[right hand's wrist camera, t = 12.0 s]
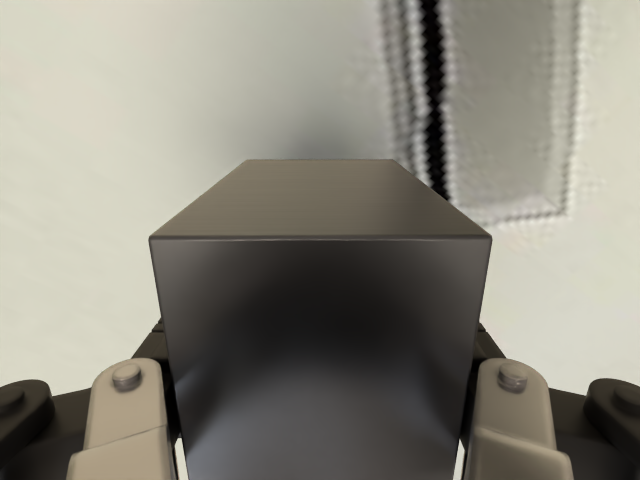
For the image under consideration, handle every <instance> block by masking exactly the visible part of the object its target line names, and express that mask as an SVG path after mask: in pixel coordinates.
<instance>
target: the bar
mask: <svg viewBox="0 0 640 480" xmlns="http://www.w3.org/2000/svg"><path fill="white" fill-rule="evenodd" d="M148 241H149V247H150V253H151V259H152V265H153V271H154V277H155V282H156V288H157V294H158V300H159V306H160V312H161V318H162V324H163V330H164V336H165V342H166V348H167V354H168V360H169V366H170V372H171V378H172V384H173V390H174V396H175V402H176V408H177V413H178V419H179V425H180V431H181V437H182V443H183V449H184V455H185V461H186V467H187V473H188V479H189V480H453V475H454V469H455V463H456V457H457V451H458V445H459V439H460V433H461V427H462V421H463V415H464V409H465V403H466V397H467V390H468V384H469V378H470V372H471V366H472V360H473V354H474V348H475V342H476V336H477V330H478V324H479V318H480V312H481V306H482V300H483V294H484V288H485V282H486V275H487V269H488V263H489V257H490V251H491V245H492V236H491V235H490V234H489V233H488V232H486V231H485V230H484V229H482V228H481V227H480V226H479V225H477V224H476V223H475V222H473V221H472V220H471V219H469V218H468V217H467V216H466V215H464V214H463V213H462V212H460V211H459V210H458V209H456V208H455V207H454V206H453V205H451V204H450V203H449V202H447V201H446V200H445V199H443V198H442V197H441V196H440V195H438V194H437V193H436V192H434V191H433V190H432V189H430V188H429V187H428V186H427V185H425V184H424V183H423V182H421V181H420V180H419V179H418V178H416V177H415V176H414V175H412V174H411V173H410V172H408V171H407V170H406V169H405V168H403V167H402V166H401V165H399V164H398V163H397V162H395V161H394V160H392V159H317V160H246V161H244V162H243V163H242V164H241V165H239V166H238V167H237V168H236V169H234V170H233V171H232V172H230V173H229V174H228V175H227V176H225V177H224V178H223V179H222V180H220V181H219V182H218V183H216V184H215V185H214V186H213V187H211V188H210V189H209V190H208V191H206V192H205V193H204V194H202V195H201V196H200V197H199V198H197V199H196V200H195V201H194V202H192V203H191V204H190V205H188V206H187V207H186V208H185V209H183V210H182V211H181V212H180V213H178V214H177V215H176V216H174V217H173V218H172V219H171V220H169V221H168V222H167V223H166V224H164V225H163V226H162V227H160V228H159V229H158V230H157V231H155V232H154V233H153V234H152V235H150V236H149V240H148Z"/></svg>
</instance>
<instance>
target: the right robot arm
mask: <svg viewBox="0 0 640 480" xmlns="http://www.w3.org/2000/svg"><path fill="white" fill-rule="evenodd" d="M178 438H182V437H181V431H180V425H179V419H178V413H177V408H176V402H175V396H174V390H173V384H172V378H171V372H170V366H169V360H168V354H167V348H166V342H165V336H164V330H163V324H162V318H160V320H159V321H158V324H156V325H155V327H154V328H153V329H152V332H151V333H149V335H148V336H147V337H146V339H145V340H144V341H143V343H142V344H141V346H140V347H139V348H138V350H137V351H136V352H135V354H134V355H133V356H132V358H131V359H128V360H125V361H122V362H119V363H116V364H114V365H112V366H110V367H109V368H107V369H106V370H104V371H103V372H102V373H101V374H99V375H98V376H97V378H96V379H95V380H94V382H93V385H92V387H91V388H88V389H84V390H80V391H75V392H71V393H66V394H61V395H57V396H52V394H51V391H50V388H49V386H48V384H47V383H46V382H44V381H41V380H23V381H18V382H14V383H11V384H8V385H5V386H2V387H0V480H179V472H178V464H177V457H176V451H175V443H176V441H177V439H178ZM460 440H461V442H462V445H463V447H464V450H465V451H464V456H463V464H462V472H461V479H460V480H640V387H639V386H637V385H634V384H631V383H628V382H625V381H621V380H617V379H609V378H603V379H597V380H594V381H593V382H591V384H590V385H589V388H588V392H587V395H586V396H584V395H579V394H575V393H570V392H566V391H561V390H556V389H552V388H548V385H547V382H546V380H545V379H544V378H543V376H542V375H541V374H539V373H538V372H537V371H536V370H534V369H533V368H531V367H530V366H528V365H526V364H524V363H521V362H518V361H515V360H512V359H507V358H506V357H505V356H504V354H503V353H502V351H501V350H500V349H499V347H498V346H497V345H496V343H495V342H494V340H493V339H492V338H491V336H490V335H489V334H488V332H486V329H485V328H484V327H483V325H482V324H481V323H479V324H478V330H477V336H476V342H475V348H474V354H473V360H472V366H471V372H470V378H469V384H468V390H467V397H466V403H465V409H464V415H463V421H462V427H461V433H460Z"/></svg>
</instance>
